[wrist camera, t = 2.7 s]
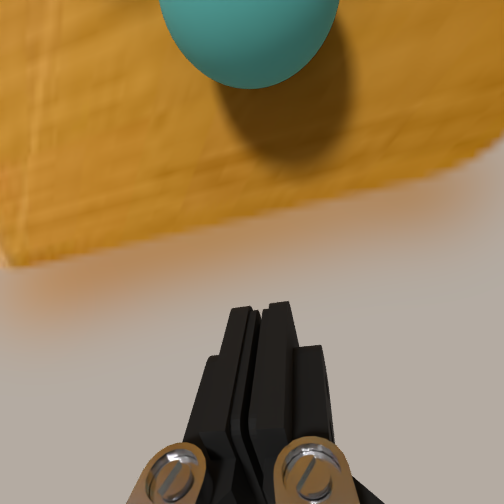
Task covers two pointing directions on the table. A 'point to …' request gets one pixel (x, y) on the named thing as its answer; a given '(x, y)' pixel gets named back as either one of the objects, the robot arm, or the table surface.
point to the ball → (249, 37)
